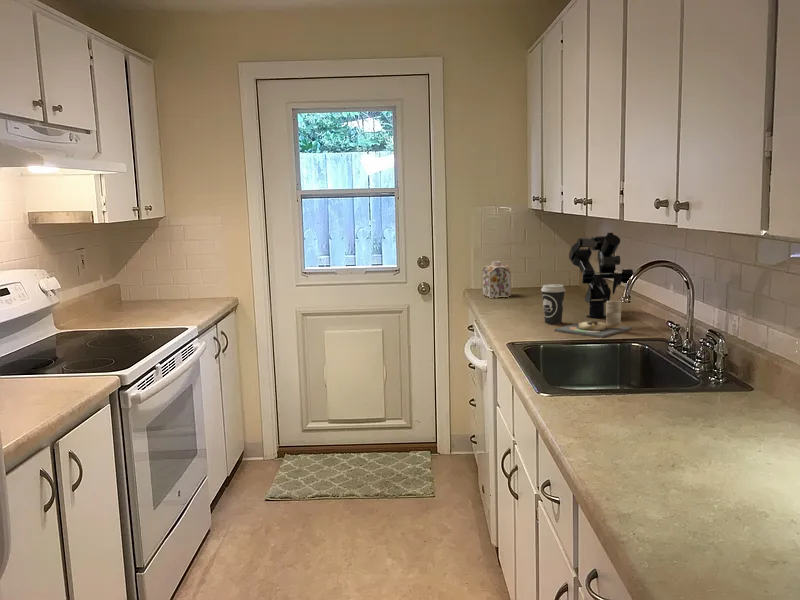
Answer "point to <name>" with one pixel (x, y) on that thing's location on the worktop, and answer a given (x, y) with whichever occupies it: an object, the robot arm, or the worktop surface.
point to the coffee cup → (553, 303)
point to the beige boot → (611, 318)
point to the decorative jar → (496, 280)
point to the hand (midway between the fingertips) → (609, 293)
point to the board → (597, 333)
